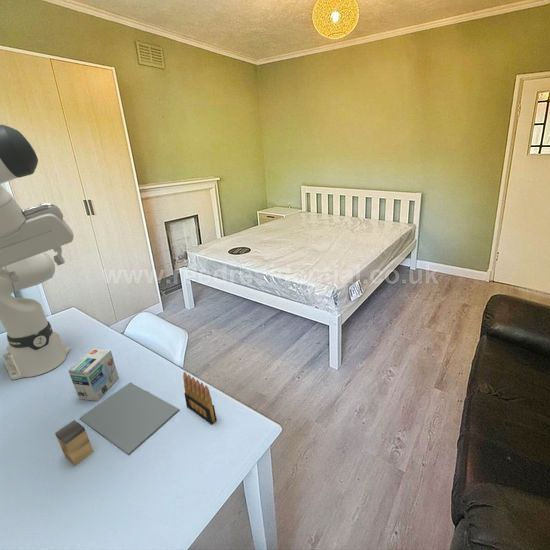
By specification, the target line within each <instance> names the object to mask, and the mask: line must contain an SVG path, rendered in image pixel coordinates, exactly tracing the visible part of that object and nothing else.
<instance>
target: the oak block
mask: <svg viewBox="0 0 550 550" xmlns="http://www.w3.org/2000/svg"><path fill="white" fill-rule="evenodd" d="M54 435H55V437H56V439H57V442H58V444H59V446H60V448H61V451H62V453H63V455H64V458H65V459H66V460H68V461H69V462H70V463H71V464H72V465H73V466H75V467H76V466H78V464H79V463H81V462H82V461H84V460H85V459H86V458H87V457H89V456H90V455H91V454H92V453H94V449H93V447H92V443H91V440H90V439H89V436H88V433H87V430H86V428H85V426H83V425H82V424H80V423H79V422H78V421H77V420H76V419H73V420H72V421H71V422H69V423H68V424H66V425H64V426H63V427H62V428H60V429H59V430H57V431H56V432H55V433H54Z"/></svg>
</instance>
